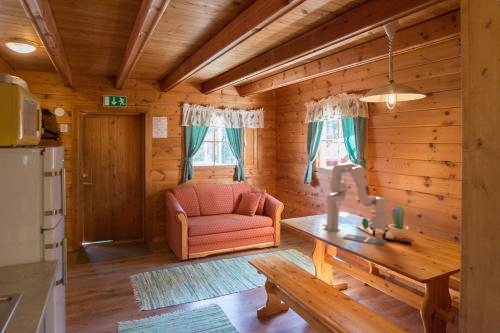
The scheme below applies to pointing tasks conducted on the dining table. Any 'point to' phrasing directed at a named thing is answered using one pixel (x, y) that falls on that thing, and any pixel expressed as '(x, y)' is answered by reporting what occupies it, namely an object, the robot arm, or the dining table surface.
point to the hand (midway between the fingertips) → (379, 236)
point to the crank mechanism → (366, 226)
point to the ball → (378, 235)
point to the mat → (364, 239)
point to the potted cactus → (398, 223)
